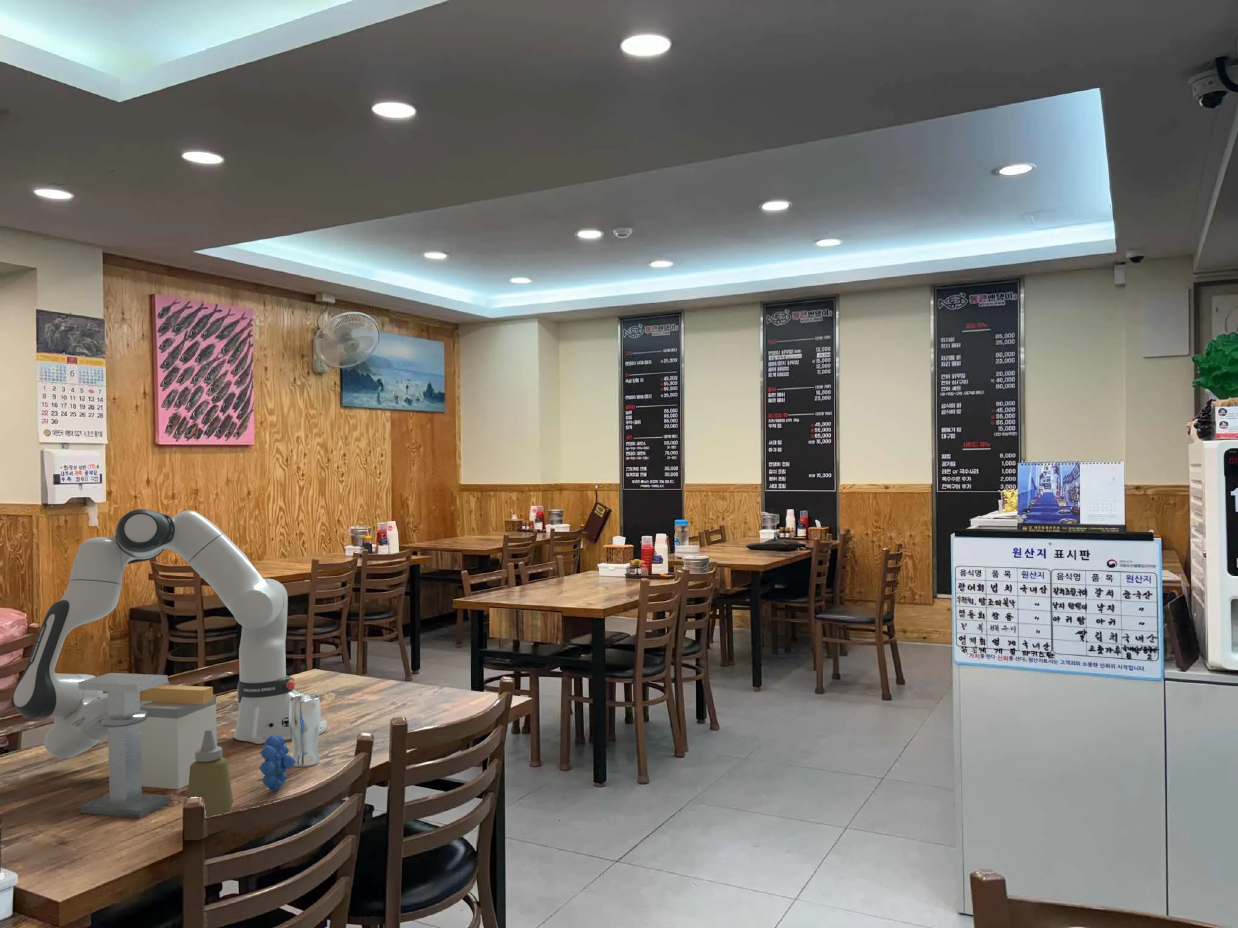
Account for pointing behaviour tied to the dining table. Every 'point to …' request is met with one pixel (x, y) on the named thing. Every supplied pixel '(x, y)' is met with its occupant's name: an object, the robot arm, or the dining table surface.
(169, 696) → the bracket bar
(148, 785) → the white lidded box
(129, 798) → the post
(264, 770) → the grapes
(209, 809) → the squeeze bottle
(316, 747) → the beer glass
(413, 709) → the dining table surface
